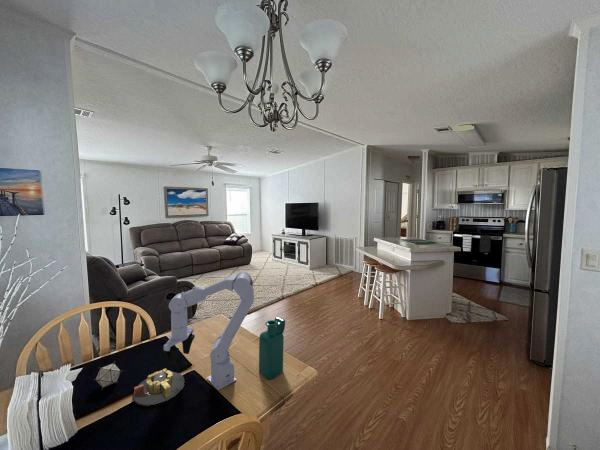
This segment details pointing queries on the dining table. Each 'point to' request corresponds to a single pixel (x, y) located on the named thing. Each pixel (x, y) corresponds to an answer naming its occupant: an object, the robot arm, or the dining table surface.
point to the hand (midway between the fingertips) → (179, 358)
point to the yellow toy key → (160, 383)
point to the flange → (149, 399)
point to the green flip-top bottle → (272, 349)
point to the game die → (108, 375)
